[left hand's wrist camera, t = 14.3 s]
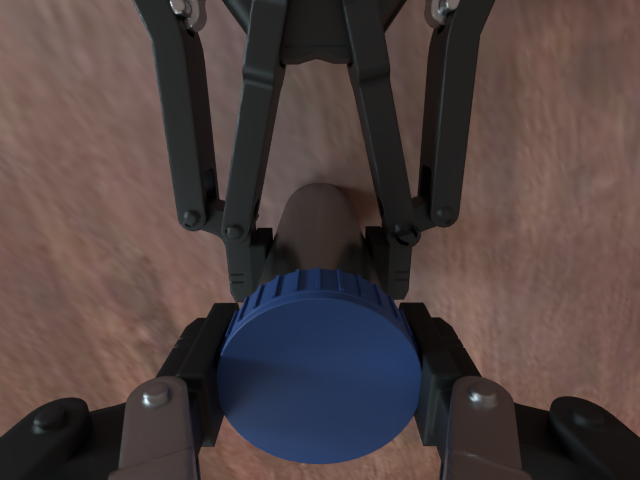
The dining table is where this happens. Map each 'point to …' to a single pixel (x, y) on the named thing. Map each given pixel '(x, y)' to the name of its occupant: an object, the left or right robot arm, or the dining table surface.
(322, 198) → the brown cylinder
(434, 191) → the right robot arm
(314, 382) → the lid
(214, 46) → the dining table surface
